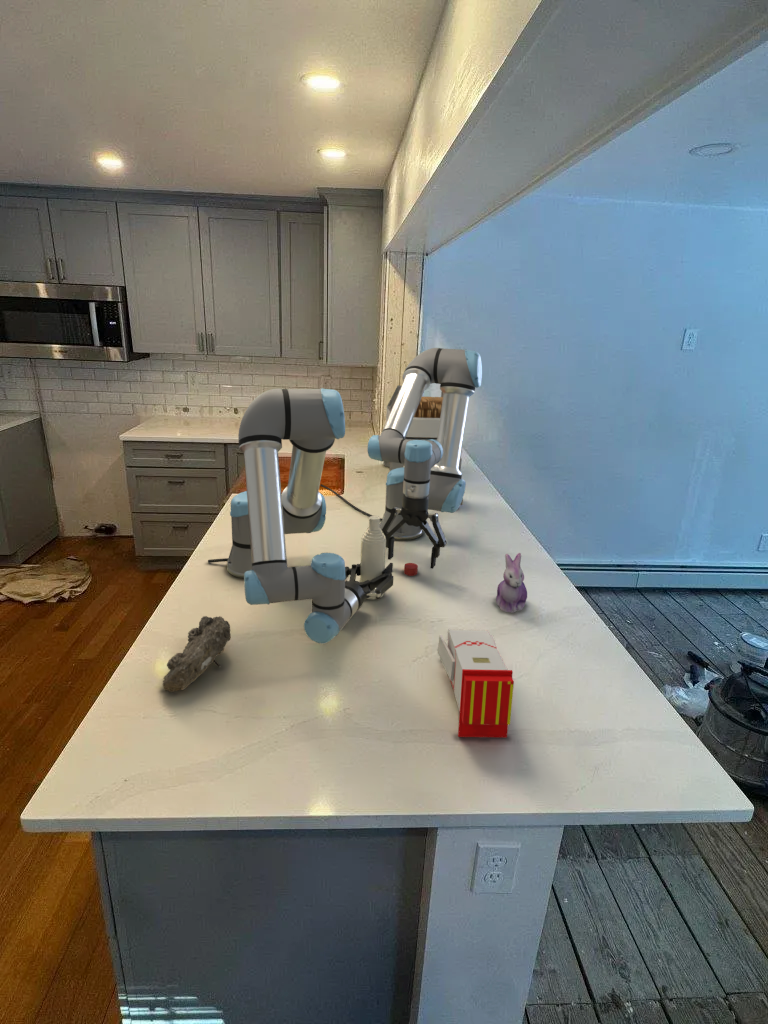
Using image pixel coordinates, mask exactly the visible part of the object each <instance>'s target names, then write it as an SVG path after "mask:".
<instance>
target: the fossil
mask: <svg viewBox="0 0 768 1024" xmlns="http://www.w3.org/2000/svg"><path fill="white" fill-rule="evenodd" d="M231 632H232V631H231V625H230V623H229V621H227V620H225V618H223V616H221V615H219V616H213V617H211V616H210V617H209V616H207V615H203V616H202V617H201V618H200V621H199V622H198V627H193V628H191V629H190V630H189V631H188V633H187V634H188V635H187V638H188V639H187V641H188V643H186V645H185V646H184V649H183V651H182V652H176V654H174V655H173V656H172V657H170V658H169V660H168V662H167V663H166V667H167V668H168V670H169V671H168V672H167V673H166V675H164V676H163V680H162V686H163V690H164V691H168V692H170V693H172V692H178V691H183V690H186V688H188V686H189V685H191V684H192V683H193V682H195V681H196V680H197V678H198V677H200V676H201V675H202V674H203V673H205V672H206V671H207V669H208V667H209V665H211V664H212V663H214V664H215V665H216V666H217V667H218V668H220V667H221V664H219V662H218V661H217V660H216V658H217V657H218V656H219V655H221V654H222V653H223V652H224V650H225V647H226V646H227V644H228V642H229V641H230V640H231V639H232V637H231V636H232V635H231Z"/></svg>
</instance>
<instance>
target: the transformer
mask: <svg viewBox="0 0 768 1024" xmlns="http://www.w3.org/2000/svg"><path fill="white" fill-rule="evenodd" d="M401 386H402V385H399V384H398V385H397V386H396V388H395V390H394V392H393V394H392V395H391V398H390V400H389V402H388V404H387V405H386V413H385V414H386V415H385V422H386V421H387V419H388V416H389V414H390V412H391V409H392V407H393V405H394V402H395V400H396V398H397V395H398V393H399V391H400V388H401ZM440 393H441V394H440V396H422V398H421V400H420V403H419V405H418V408H417V410H416V413H415V415H414V417H413V420H412V422H411V425H410V427H409V430H408V432H407V435H406V437H405V439H410V440H424V441H425V440H429V439H434V440H436V441H437V435H438V429H439V422H440V415H441V408H442V401H443V392H442V391H440ZM463 442H464V440H463V441H462V444H463ZM462 453H463V446H462V447H461V454H460V461H459V467H458V468H459V471H460V472H461V473H462V461H463V460H462ZM383 466H384V467H388V468H389V472H390V471H391V470H393V469H397V468H402V467H404V464H401V463H394V462H386V461H383Z"/></svg>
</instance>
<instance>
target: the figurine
mask: <svg viewBox="0 0 768 1024" xmlns="http://www.w3.org/2000/svg"><path fill="white" fill-rule="evenodd" d="M511 557H512V556H511V555H509V553H505V555H504V559H505V560H504V561H505V569H504V571H503V580H502V581H500V582H499V583H498V585H497V589H496V597H495V603H496V606H497V607H499V609H500V610H501V611H502V612H505V613H512V614H513V613H517V612H519V611H522V610H523V609H524V608H525V605H526V602H527V599H528V590H527V586H526V584H525V582H524V580H525V574H524V571H523V569H522V567H521V562H522V561H521V560H522V553H521V552H518V553H516V554H515V557H514V559H512V558H511Z"/></svg>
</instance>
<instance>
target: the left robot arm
mask: <svg viewBox="0 0 768 1024" xmlns="http://www.w3.org/2000/svg"><path fill="white" fill-rule="evenodd" d="M345 435H346V418H345V409H344V404H343V400H342V396H341V394H340V392H339V391H338V390H336V389H333V388H332V389H329V388H323V387H321V388H272V389H268V390H265V391H264V392H261V393H260V394H259V395H257V396H256V397H255V398H254V399H253V400H252V401H251V402H250V403H249V405H248V406H247V408H246V410H245V412H244V414H243V416H242V418H241V421H240V423H239V428H238V436H237V437H238V450H239V451H240V452H241V453H242V454H243V457H244V472H245V485H246V490H245V491H242V492H239V493H238V494H236V495H234V496H233V498H232V499H231V501H230V511H229V516H230V517H231V518H230V521H231V541H232V544H231V548H230V551H229V555H228V557H226V558H225V557H224V558H214V559H212V558H211V559H208V560H207V563H208V564H211V563H223V562H226V570H227V572H228V574H230V575H231V576H233V577H236V578H239V579H243V582H244V586H243V587H244V596H245V601H246V603H247V604H248V605H250V606H257V605H270V604H271V605H272V604H278V603H287V602H297V601H307V600H309V601H310V600H311V612H310V613H309V614H308V616H307V617H306V619H305V620H304V623H303V629H304V632H305V634H306V636H307V637H308V639H310V640H311V641H312V642H314V643H316V644H323V645H324V644H328V643H329V642H331V641H332V640H333V639H334V638H336V636H338V635H339V633H340V632H341V631H342V630H343V628H344V627H345V626H346V625H347V624H348V622H349V621H350V619H351V618H353V616H354V615H355V614H356V613H357V611H358V610H359V609H360V608H361V607H363V604H364V603H365V601H366V600H368V599H367V598H369V597H370V596H374V597H376V599H375V600H381V599H382V597H383V596H384V595H383V594H385V593H386V592H387V591H388V590H390V589H391V588H392V586H394V575H393V570H394V563H393V562H389V563H388V564H387V566H385V569H384V570H383V571H382V575H380V576H378V577H376V578H374V579H372V580H370V581H369V580H366V581H364V582H360V580H356V578H357V577H360V564H361V562H360V563H356V564H354V563H353V564H351V568H350V566H346V562H345V559H344V558H343V557H342V556H341V555H339V554H337V553H334V552H321V553H320V554H319V553H318V554H315V555H314V556H313V557H312V558H311V561H310V564H309V565H308V564H307V565H298V566H297V565H296V566H288V563H287V561H288V559H287V546H286V535H294V534H312V533H316V532H319V531H321V530H322V529H323V528H324V525H325V523H326V518H327V517H326V514H327V503H326V499H325V496H324V495H323V494H322V493H320V487H321V486H320V485H321V481H322V474H323V470H324V464H325V459H326V455H327V451H329V450H330V449H331V448H332V447H333V445H334V444H335V441H336V440H339V439H343V438H344V437H345ZM282 440H284V441H285V440H287V441H289V442H290V444H291V445H292V449H291V458H290V465H289V472H288V482H287V486H286V487H285V488H284V489H283V491H282V484H281V471H280V460H279V459H280V458H279V452H280V451H281V450H282V449H283V441H282ZM348 578H349V580H347V579H348ZM374 589H375V590H374ZM372 590H373V591H372ZM382 595H383V596H382ZM381 596H382V597H381Z"/></svg>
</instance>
